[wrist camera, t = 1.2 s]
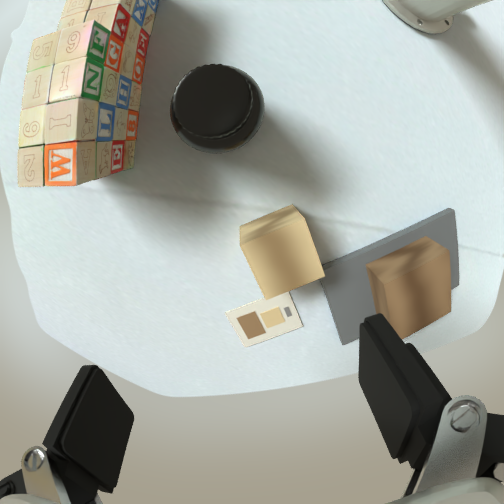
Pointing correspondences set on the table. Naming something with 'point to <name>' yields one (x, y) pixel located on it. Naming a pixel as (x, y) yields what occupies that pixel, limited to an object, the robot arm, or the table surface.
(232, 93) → the supplement bottle
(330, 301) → the board
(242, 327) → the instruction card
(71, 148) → the stack of blocks
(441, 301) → the brick
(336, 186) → the table surface
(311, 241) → the oak brick
